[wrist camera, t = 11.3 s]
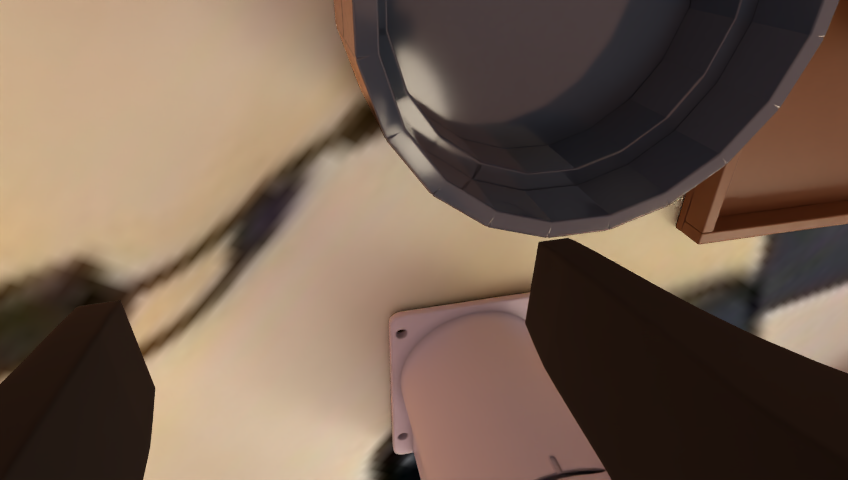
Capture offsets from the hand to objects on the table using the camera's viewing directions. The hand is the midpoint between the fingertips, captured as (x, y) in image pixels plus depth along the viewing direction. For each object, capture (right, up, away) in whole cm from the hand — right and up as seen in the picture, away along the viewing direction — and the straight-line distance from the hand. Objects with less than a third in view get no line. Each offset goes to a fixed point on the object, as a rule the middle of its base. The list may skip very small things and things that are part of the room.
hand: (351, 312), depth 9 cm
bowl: (+5, +10, +8) cm, 14 cm away
